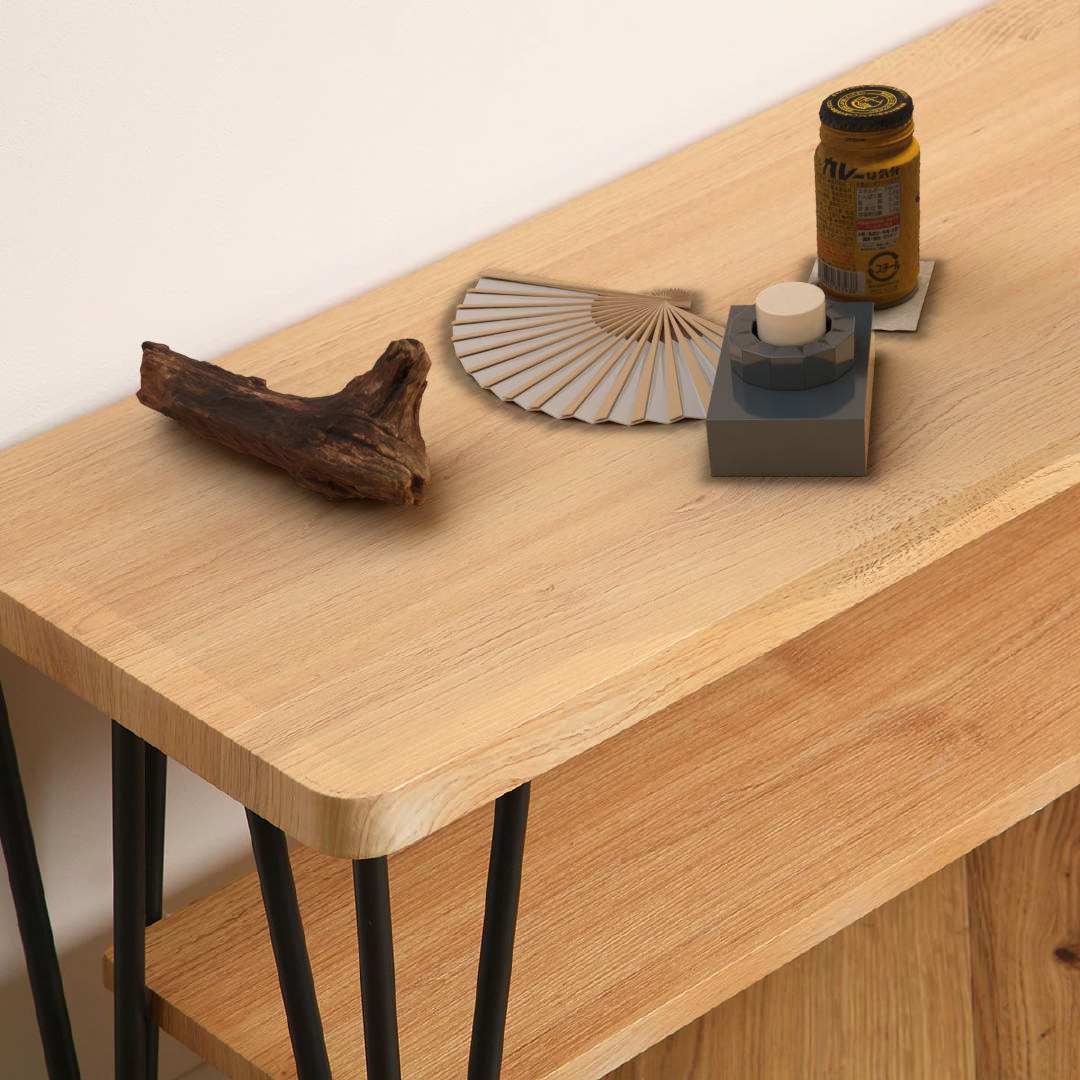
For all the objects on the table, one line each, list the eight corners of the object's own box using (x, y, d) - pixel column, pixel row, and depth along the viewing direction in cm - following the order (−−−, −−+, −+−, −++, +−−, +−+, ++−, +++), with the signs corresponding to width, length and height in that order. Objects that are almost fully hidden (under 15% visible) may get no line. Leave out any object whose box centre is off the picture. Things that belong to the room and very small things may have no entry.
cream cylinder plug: (828, 314, 87) (827, 280, 85) (824, 348, 84) (822, 313, 83) (760, 315, 88) (758, 281, 86) (754, 350, 85) (752, 315, 84)
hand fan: (527, 253, 109) (366, 352, 101) (526, 242, 109) (363, 341, 101) (863, 350, 93) (703, 477, 85) (862, 338, 93) (702, 465, 85)
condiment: (934, 264, 100) (936, 76, 93) (915, 333, 94) (915, 137, 87) (816, 261, 102) (809, 77, 95) (790, 328, 96) (780, 137, 89)
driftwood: (497, 468, 88) (473, 339, 84) (409, 551, 83) (378, 418, 79) (195, 393, 100) (159, 276, 95) (101, 462, 95) (58, 342, 90)
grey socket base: (874, 355, 92) (873, 269, 89) (866, 476, 83) (863, 384, 80) (734, 358, 94) (728, 273, 91) (710, 476, 85) (702, 386, 82)
